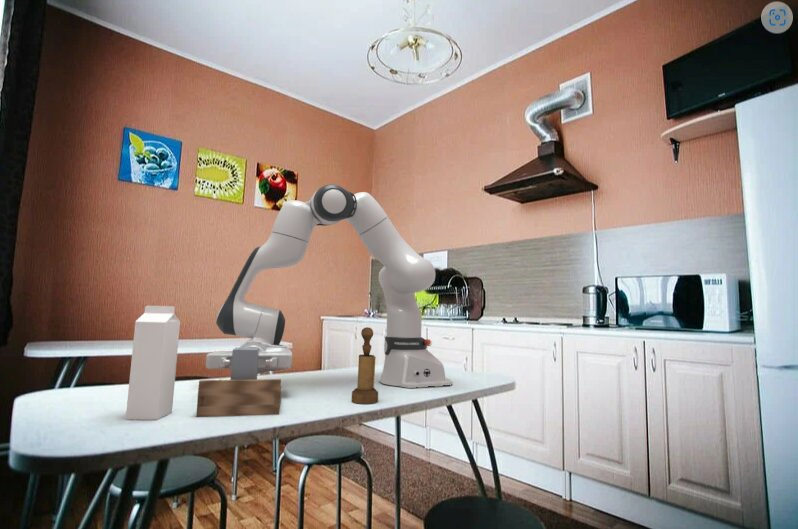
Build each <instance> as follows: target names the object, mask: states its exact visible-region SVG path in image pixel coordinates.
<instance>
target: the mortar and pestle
mask: <svg viewBox="0 0 798 529" xmlns="http://www.w3.org/2000/svg"><path fill="white" fill-rule="evenodd" d="M360 333H361V337H362V339H363V345H362V352H363V354H359V355H358V365H357V366H358V367H357V368H358V369H357V371H358V372H357V385H356V386H357V387H356V388H354V389H353V390H352V391H351V402H352V403H355V404H357V405H358V404H360V405H373V404H375V403H376V404H377V403H378V402H379V391H378V390H377V389H376V388H375V387H374V388H373V378H374V379H375V375H374V356H375V355H374V354H371V350H372V345H371V343H370V342H371V341H372V338H373V336H374V330H373V328H371V327H364V328H362V330H361V332H360Z"/></svg>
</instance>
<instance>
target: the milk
mask: <svg viewBox="0 0 798 529" xmlns="http://www.w3.org/2000/svg"><path fill="white" fill-rule="evenodd" d="M175 309H176V307H175V306H172V305H146V306H145V307H144V313H143V314H141V316H139V317H138V318H137V319H136V320H135V321H134V322H135V323H134V331H133V333H134V334H133V341H132V342H133V343H132V350H131V352H132V353H131V361H130V362H131V363H130V364H131V365H130V371H129V372H130V373H129V382H128V392H127V402H126V412H125V413H126V414H125V420H127V421H131V420H132V421H135V420H136V421H140V420H141V421H157V420H160V419H162V418H164V417H165V416H166V417H167V416H168V415H170V414H172V413H173V406H174V396H175V395H174V394H175V384H176V373H177V372H176V371H177V362H178V361H177V360H178V349H179V339H180V338H179V336H180V328H181V327H180V326H181V325H180V324H181V321H180V319H179V318H178V316H176V314H175Z"/></svg>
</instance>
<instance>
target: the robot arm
mask: <svg viewBox="0 0 798 529" xmlns="http://www.w3.org/2000/svg"><path fill="white" fill-rule="evenodd" d="M340 221H346V222H347V223H349V225H350V226H352V228H353V230H354V231H355V233H356V235H358V237H359V238H360V240H361V242H362V243H363V245H364V246H365V248H366V249H367V251H368V253H369V254H370V256H371V257H373V258H374V259H376V260H377V262H378V261H379V262H380V264H382V265H383V267H382V268H381V269H380V271H379V273H378V282H379V285H380V288H382V292H383V297H384V301H385V306H386V307H385V308H386V336H384V337H385V338H384V346H383V347H384V348H383V349H384V350H383V351H384V352H383V353H384V362H383V368H382V373H381V377H380V379H379V383H380V384H384V385H387V386H388V385H389V386H395V387H402V388H408V389H417V388H416V387H418V388H429V387H428V386H435V387H444V386H443V385H450V386H452V385H453V381H452V380H451V379H450V378H448V377H446V371H445V366H444V364H443V362H442V361H440V360H439V359H438V358H437V357H436V356H435V355H434V354H433V353H432V352H430V351H429V350H427V349H428V347H431V346H432V344H433V342H432V341H431V339H425V337H422V322H423V321H422V320H423V319H422V318H423V317H422V316H423V315H422V311H421V309H420V308H419V306H418V303H417V300H416V295H415V293H420V292H422V291H426V290H427V289H428V288H431V286H432V285H433V284H434V282H435V280H436V269H435V267H434V265H433V263H432V262H431V261H430V260H428V259H427V258H424V257H423V256H421V255H420V254H419V253H418V252H417V251H415V250H414V248H413V247H411V245H410V244H408V242H406V241H405V239H403V237H402V236H401V234H400V233H399V232H398V230H397V229H396V227H395V226H394V224H393V222H392V221H391V220H390V218H389V216H388V214H387V213H386V211H385V210H384V208H383V207H382V206H381V205H380V204H379V203H378V201H377V200H376V199H375V198H374V197H373V196H372V194H370V193H369V192H366V191H361V192H360V191H359V192H357V193H353V192H351V191H348V190H347V189H345V188H344V187H342V186H340V185H337V184H333V183H332V184H325V185H322V186H321V187H320V188H318V189H317V190H316V191H315V192H314V193H313V195H312V196H311V198H310V199H309V200H308V201H301V200H296V199H295V200H293V199H291V200H288V201H286V202H284V203H283V204H282V206H281V208H280V210H279V212H278V214H277V216H276V218H275V221H274V223H273V226H272V229H271V233H270V235H269V237H268V239H267V241H266V242H265V243H263V245H261V246H257V247H255V248H253V251H251V253H250V254H249V256H248V258H247V259H246V262H245V263H244V265H243V267H242V269H241V271H240V272H239V275H238V276H237V279H236V281H235V282H234V285H233V287H232V288H231V290H230V293H229V294H228V296H227V297H226V300H225V301H224V302H223V304H221V307H220V308H219V311H218V312H217V316H216V320H215V324H216V325H217V327H218V330H220V331H221V332H222V334H224V335H230V336H239V337H244V338H248V339H249V340H246V342H244V343H242V344H241V345H240V346H239V347H238V348H259V356H258V371H257V375H258V374H264V373H267V372H274V371H284V370H286V369H287V370H288V369H291V368H293V367H292V366H293V352H292V351H291V349H289V348H288V346H287V345H285V344H281V341H282V338H283V336H284V332H285V327H286V318H285V316H284V313H283V312H282V310H281V309H277V308H273V307H270V306H263V305H260V304H257V303H253V302H248V301H246V300H245V297H246V295H247V293H248V291H249V289H250V287H251V285H252V283H253V281H254V280H255V278H256V276H257V275H258V274H259V273H260V272H262V271H265V270H269V269H270V270H271V269H281V268H282V269H283V268H287V267H292V266H295V265H297V264H299V263H300V262H301V261H302V260H303V259H304V256H305V254H306V252H307V249H308V246H309V243H310V240H311V236H312V233H313V231H314V229H315V228H316V226H325V227H326V226H331V225H336V224H337V223H339V222H340ZM232 352H233V350H226V351H225V350H221V351H220V350H217V351H213V352H209V353H207V354H206V358H205V368H206V369H208V370H231V366H232ZM451 384H452V385H451Z"/></svg>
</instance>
